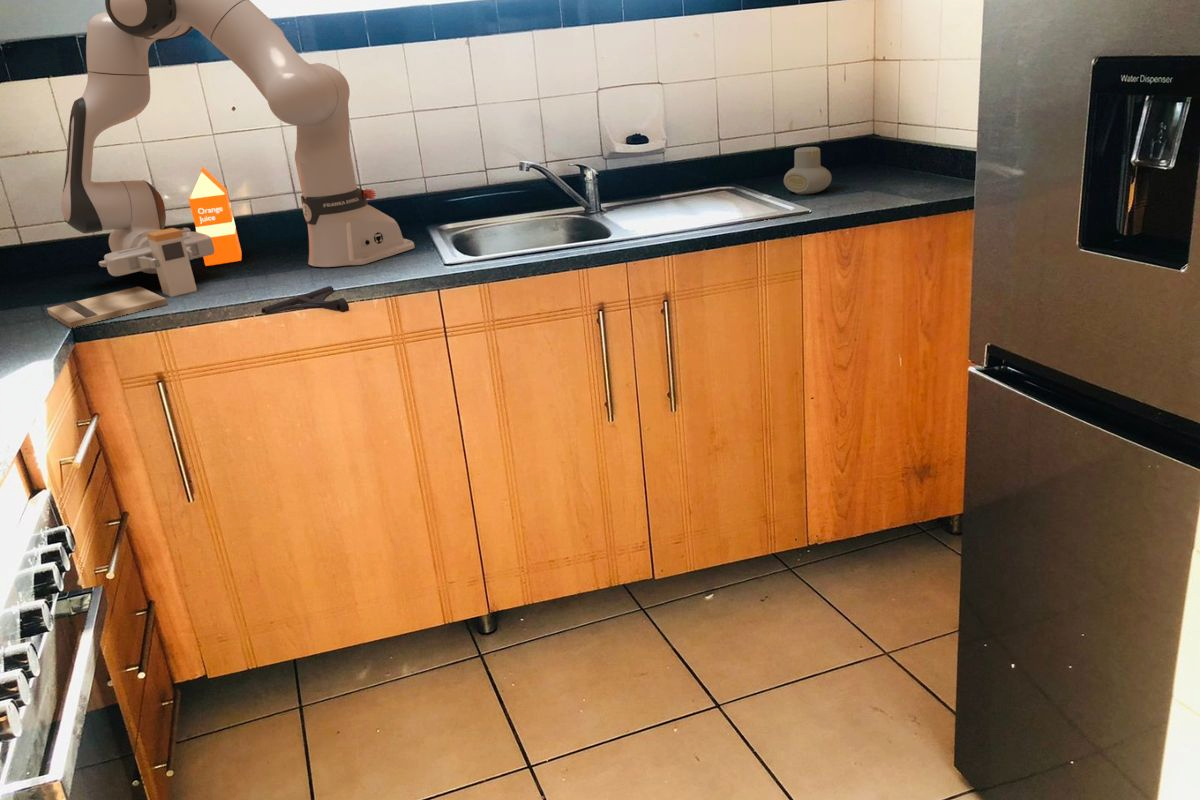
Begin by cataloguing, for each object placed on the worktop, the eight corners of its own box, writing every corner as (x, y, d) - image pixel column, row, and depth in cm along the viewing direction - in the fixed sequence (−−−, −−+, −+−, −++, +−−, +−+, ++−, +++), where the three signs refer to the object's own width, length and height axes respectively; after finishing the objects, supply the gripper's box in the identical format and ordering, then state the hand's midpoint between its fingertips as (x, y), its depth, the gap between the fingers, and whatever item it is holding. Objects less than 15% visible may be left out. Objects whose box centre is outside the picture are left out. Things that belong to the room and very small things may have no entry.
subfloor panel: (141, 292, 190) (139, 285, 189) (167, 304, 178) (165, 298, 178) (48, 314, 180) (46, 307, 179) (70, 329, 168) (68, 322, 168)
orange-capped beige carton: (188, 286, 190) (172, 227, 185) (197, 290, 186) (181, 230, 182) (162, 293, 187) (146, 233, 183) (171, 297, 183) (155, 236, 179)
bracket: (312, 327, 158) (308, 311, 157) (262, 316, 167) (258, 301, 166) (380, 303, 168) (377, 288, 167) (329, 294, 177) (326, 280, 176)
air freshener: (837, 190, 221) (837, 146, 217) (815, 197, 216) (814, 152, 213) (800, 187, 229) (799, 145, 225) (778, 193, 224) (777, 150, 221)
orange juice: (204, 266, 207) (181, 173, 199) (206, 258, 215) (184, 168, 207) (242, 260, 209) (220, 168, 201) (242, 252, 217) (221, 163, 209)
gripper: (91, 247, 186) (111, 255, 176) (194, 225, 198) (219, 232, 188) (100, 278, 189) (121, 288, 179) (202, 255, 201) (227, 263, 191)
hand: (172, 259), depth 184 cm, fingers closed on orange-capped beige carton, 5 cm apart
